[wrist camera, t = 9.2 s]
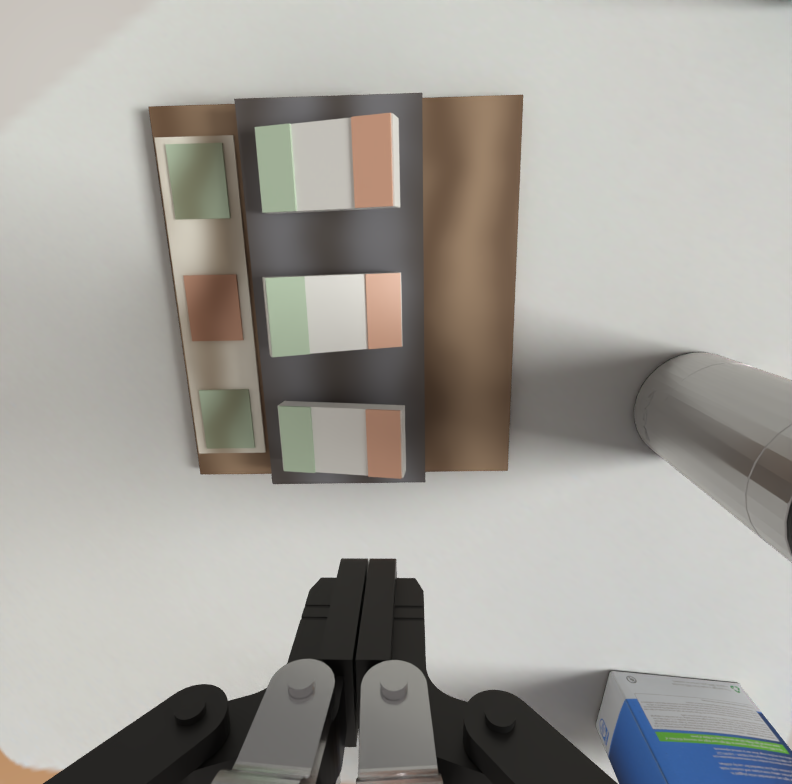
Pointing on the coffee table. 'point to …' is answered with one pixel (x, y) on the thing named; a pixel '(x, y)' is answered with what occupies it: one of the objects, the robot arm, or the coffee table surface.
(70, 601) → the coffee table surface
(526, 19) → the coffee table surface
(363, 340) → the switch
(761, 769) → the string lights box
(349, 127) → the switch
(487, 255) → the switch unit
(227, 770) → the robot arm
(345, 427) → the switch
